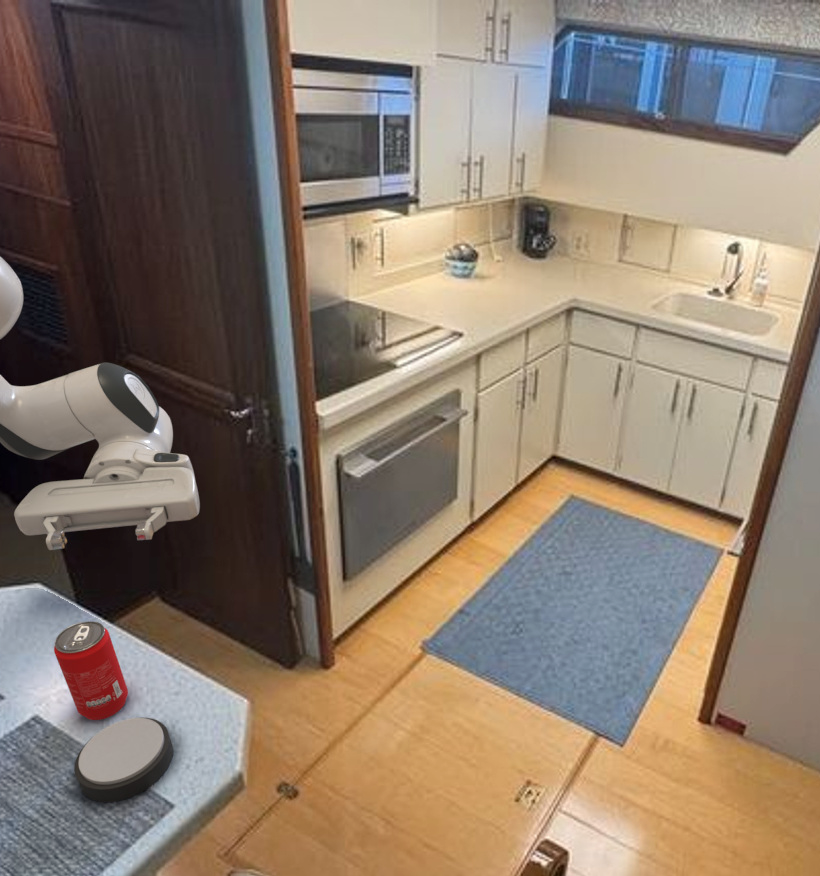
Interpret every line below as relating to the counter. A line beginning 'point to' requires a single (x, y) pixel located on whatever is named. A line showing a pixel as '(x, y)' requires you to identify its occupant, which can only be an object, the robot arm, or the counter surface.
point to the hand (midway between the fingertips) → (99, 540)
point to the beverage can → (91, 670)
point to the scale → (123, 759)
